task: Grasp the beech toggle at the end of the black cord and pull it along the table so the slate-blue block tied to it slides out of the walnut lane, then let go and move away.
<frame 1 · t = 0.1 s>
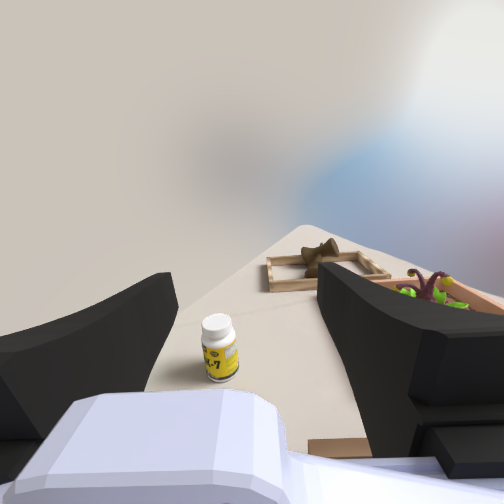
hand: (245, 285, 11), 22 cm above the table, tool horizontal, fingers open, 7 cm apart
kendama: (323, 267, 65), point 1 cm above the table, touching beech serving tray
beech serving tray: (319, 273, 64), on the table
supplement bottle: (223, 371, 35), on the table
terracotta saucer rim: (423, 328, 40), on the table
plant: (422, 330, 40), resting in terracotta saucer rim
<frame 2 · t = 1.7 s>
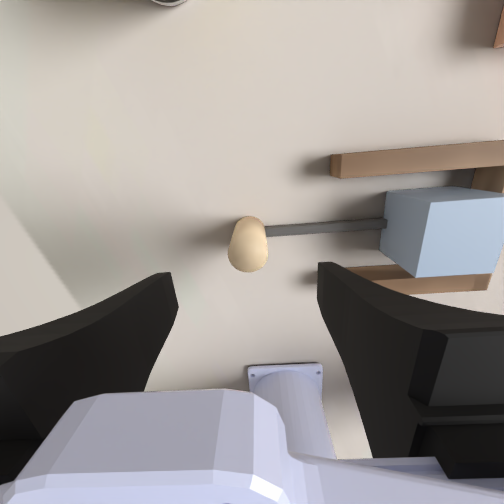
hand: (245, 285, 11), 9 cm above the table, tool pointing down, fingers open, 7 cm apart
walnut lane: (401, 220, 19), on the table
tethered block: (413, 219, 19), on the table
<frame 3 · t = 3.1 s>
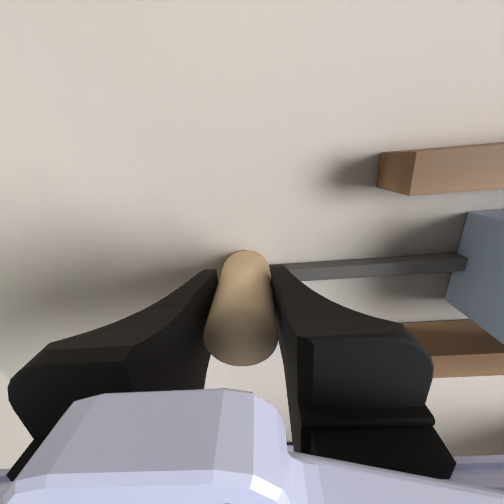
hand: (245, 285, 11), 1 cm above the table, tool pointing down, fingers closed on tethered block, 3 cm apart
walnut lane: (485, 257, 12), on the table
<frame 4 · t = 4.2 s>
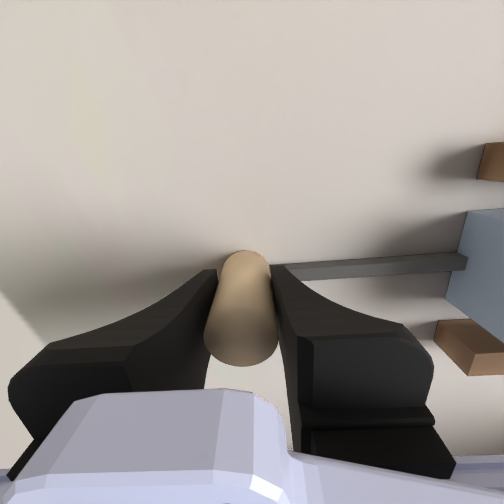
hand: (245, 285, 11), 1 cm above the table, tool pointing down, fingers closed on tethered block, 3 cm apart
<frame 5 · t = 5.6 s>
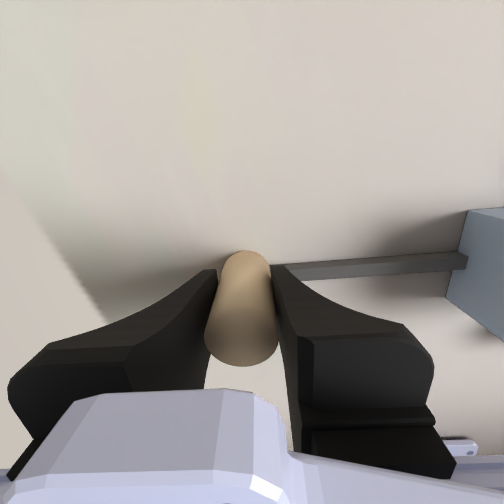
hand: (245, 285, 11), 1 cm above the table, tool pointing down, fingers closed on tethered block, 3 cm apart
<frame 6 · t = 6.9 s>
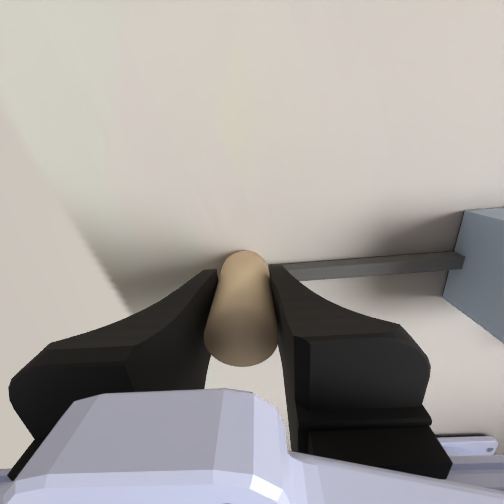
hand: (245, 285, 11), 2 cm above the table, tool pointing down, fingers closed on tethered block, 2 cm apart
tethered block: (501, 253, 12), on the table, touching gripper
when the fingers open (2 cm above the table, at t = 7.1 s): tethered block stays where it is, on the table.
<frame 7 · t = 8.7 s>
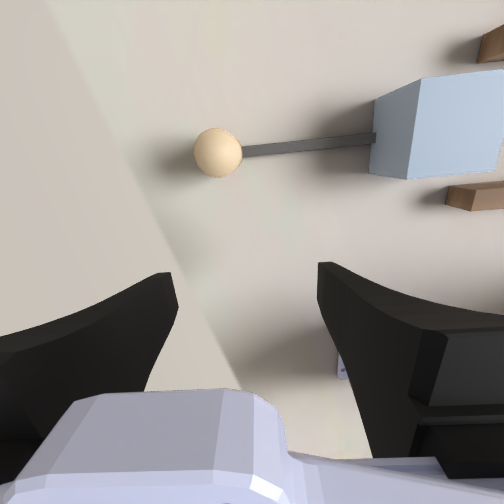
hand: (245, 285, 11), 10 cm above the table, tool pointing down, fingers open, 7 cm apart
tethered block: (405, 134, 17), on the table
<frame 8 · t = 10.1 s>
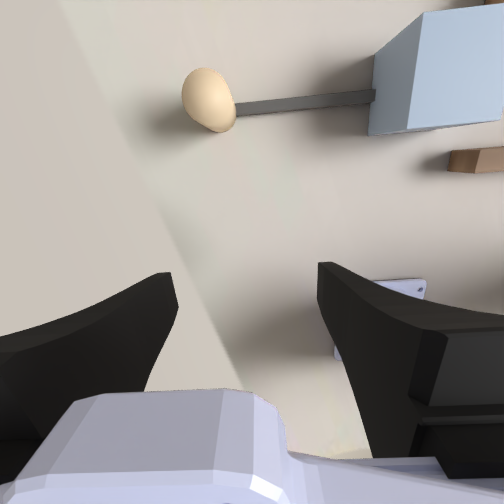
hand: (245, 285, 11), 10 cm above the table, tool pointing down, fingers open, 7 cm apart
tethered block: (406, 93, 17), on the table
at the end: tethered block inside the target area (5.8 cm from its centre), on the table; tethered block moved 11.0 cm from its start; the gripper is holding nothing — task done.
